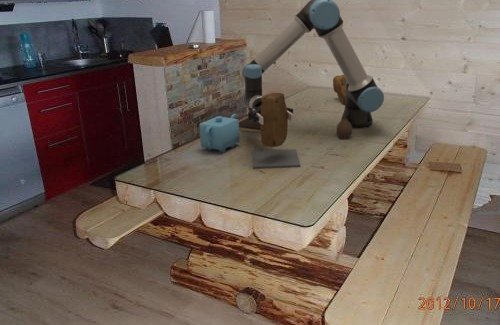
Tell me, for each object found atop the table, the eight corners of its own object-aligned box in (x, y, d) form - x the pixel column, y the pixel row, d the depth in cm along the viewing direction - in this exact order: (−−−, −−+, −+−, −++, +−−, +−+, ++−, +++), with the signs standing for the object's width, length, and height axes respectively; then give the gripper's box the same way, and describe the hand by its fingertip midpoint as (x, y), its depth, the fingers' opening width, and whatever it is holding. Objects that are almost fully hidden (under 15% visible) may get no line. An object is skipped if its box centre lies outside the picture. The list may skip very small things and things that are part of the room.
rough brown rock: (327, 106, 258) (328, 80, 251) (333, 97, 271) (334, 72, 264) (368, 109, 249) (370, 83, 243) (372, 100, 263) (374, 75, 256)
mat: (295, 150, 188) (295, 148, 187) (300, 166, 171) (300, 164, 171) (252, 152, 188) (252, 150, 188) (253, 168, 171) (253, 166, 171)
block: (274, 149, 171) (274, 97, 164) (258, 145, 175) (257, 95, 168) (290, 141, 179) (290, 92, 172) (274, 138, 183) (274, 90, 176)
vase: (352, 135, 203) (353, 117, 200) (350, 140, 197) (351, 121, 194) (337, 134, 205) (338, 116, 202) (335, 139, 199) (335, 120, 196)
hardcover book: (232, 130, 220) (232, 125, 219) (254, 118, 239) (254, 114, 238) (261, 134, 213) (261, 129, 212) (282, 121, 231) (282, 116, 231)
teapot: (218, 156, 185) (215, 124, 180) (197, 152, 191) (194, 120, 186) (247, 141, 202) (246, 111, 197) (227, 137, 208) (225, 108, 203)
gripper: (286, 111, 193) (306, 125, 174) (233, 117, 188) (247, 132, 168) (286, 94, 191) (306, 106, 171) (232, 100, 185) (247, 112, 165)
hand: (277, 119), depth 170 cm, fingers closed on block, 11 cm apart
